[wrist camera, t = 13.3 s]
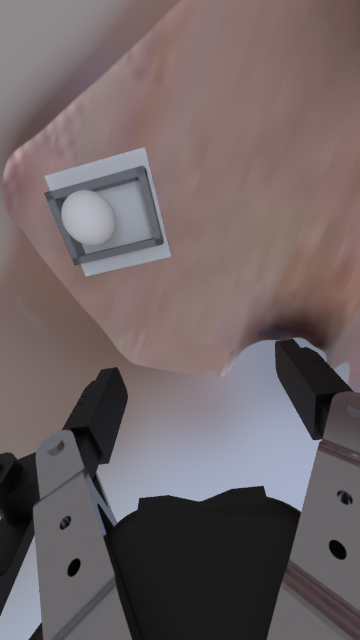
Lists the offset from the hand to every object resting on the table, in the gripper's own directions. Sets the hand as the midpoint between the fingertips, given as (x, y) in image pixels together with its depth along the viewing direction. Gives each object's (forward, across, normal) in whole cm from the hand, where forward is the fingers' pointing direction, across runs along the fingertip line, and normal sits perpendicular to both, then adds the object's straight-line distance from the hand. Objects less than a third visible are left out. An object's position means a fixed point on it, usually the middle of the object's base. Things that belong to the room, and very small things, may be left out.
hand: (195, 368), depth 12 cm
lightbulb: (+29, +11, -9) cm, 32 cm away
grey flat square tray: (+29, +10, -8) cm, 32 cm away
